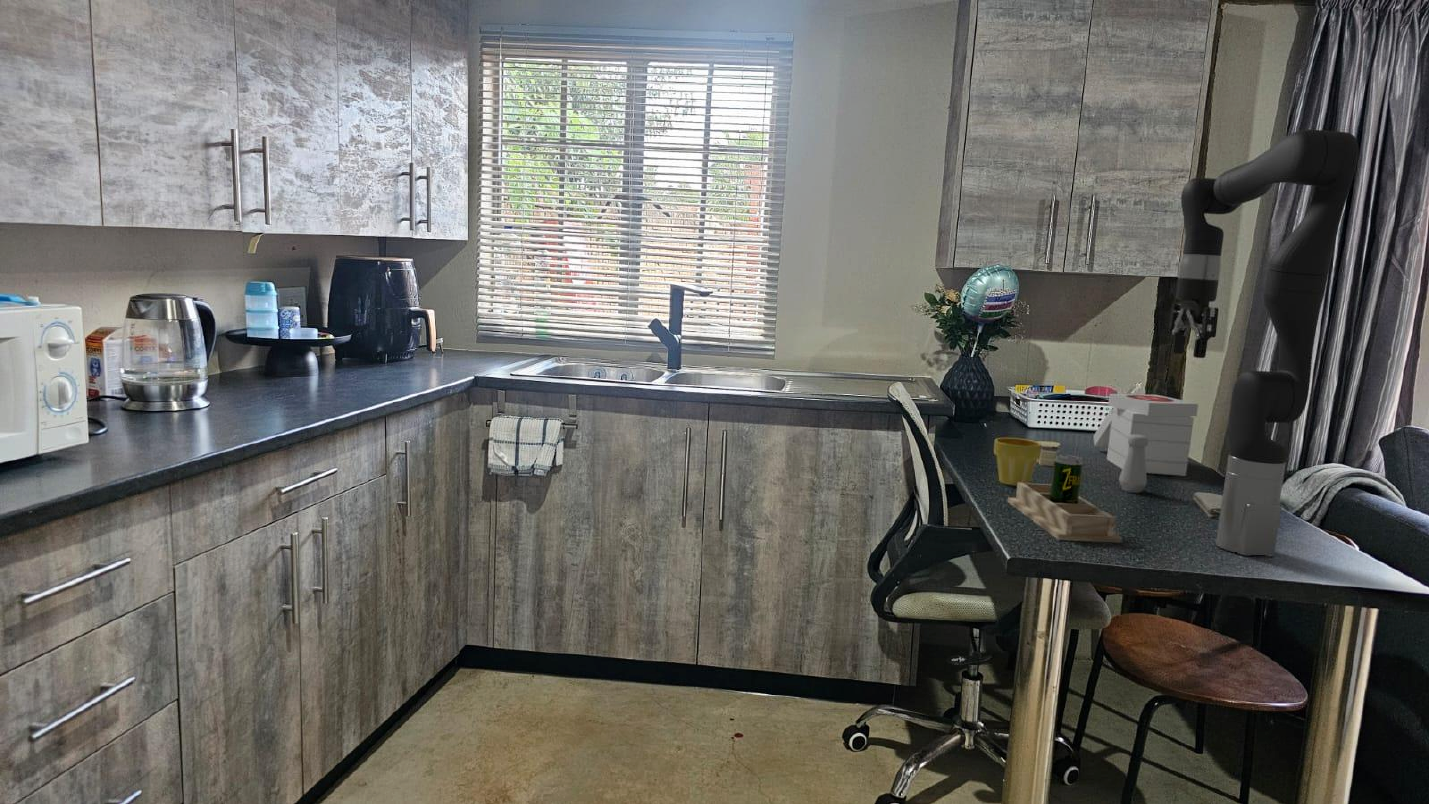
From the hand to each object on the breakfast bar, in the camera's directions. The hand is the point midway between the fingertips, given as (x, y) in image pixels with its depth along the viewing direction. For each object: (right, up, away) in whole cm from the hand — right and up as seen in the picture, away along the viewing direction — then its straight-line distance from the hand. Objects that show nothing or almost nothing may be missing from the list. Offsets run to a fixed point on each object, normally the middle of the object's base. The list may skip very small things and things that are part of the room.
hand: (1187, 355), depth 204 cm
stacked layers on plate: (-14, -26, +47) cm, 55 cm away
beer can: (-30, -33, -11) cm, 46 cm away
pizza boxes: (+13, -26, +55) cm, 63 cm away
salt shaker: (-3, -30, +21) cm, 37 cm away
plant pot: (-30, -29, +21) cm, 46 cm away
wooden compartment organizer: (-30, -33, -10) cm, 46 cm away
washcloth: (+12, -34, +7) cm, 37 cm away
